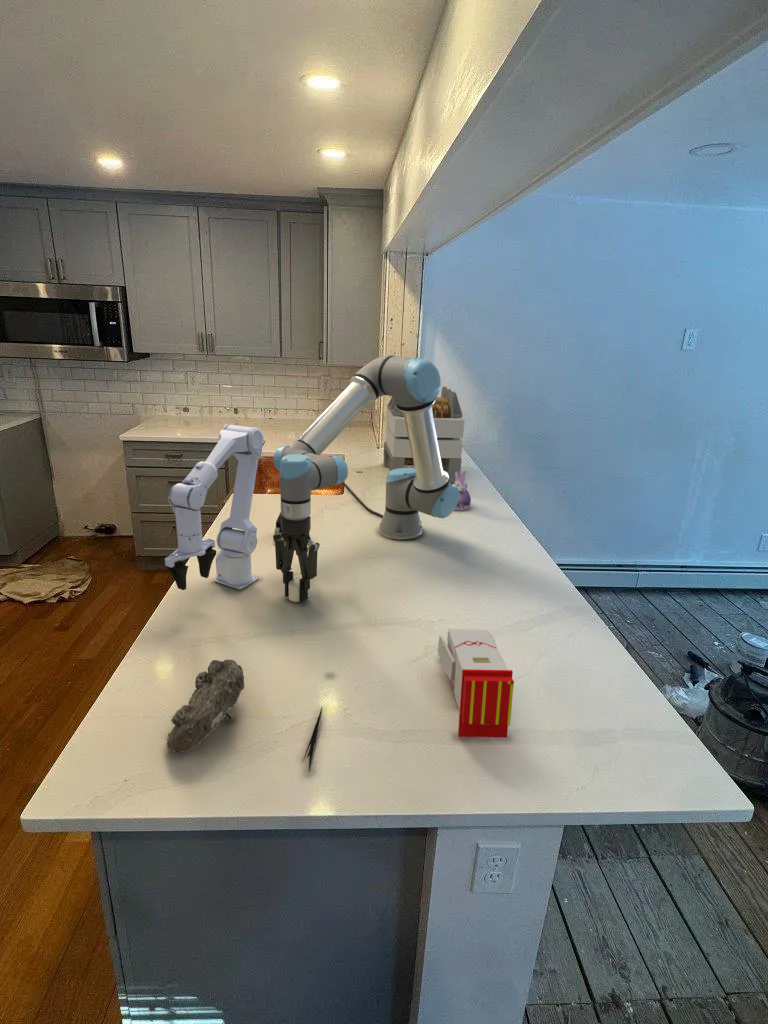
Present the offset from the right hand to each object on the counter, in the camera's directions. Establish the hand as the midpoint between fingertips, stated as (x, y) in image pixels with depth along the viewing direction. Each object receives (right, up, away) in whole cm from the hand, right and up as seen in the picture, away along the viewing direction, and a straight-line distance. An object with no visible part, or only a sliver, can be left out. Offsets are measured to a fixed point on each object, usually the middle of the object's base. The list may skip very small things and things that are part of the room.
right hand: (296, 597), depth 152 cm
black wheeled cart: (-10, +14, +41) cm, 44 cm away
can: (0, 0, 0) cm, 0 cm away
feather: (+11, -17, -44) cm, 48 cm away
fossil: (-9, -16, -44) cm, 48 cm away
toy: (+41, -15, -34) cm, 55 cm away
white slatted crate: (+41, +42, +123) cm, 136 cm away
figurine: (+54, +25, +77) cm, 97 cm away
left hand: (-24, +5, -11) cm, 27 cm away
